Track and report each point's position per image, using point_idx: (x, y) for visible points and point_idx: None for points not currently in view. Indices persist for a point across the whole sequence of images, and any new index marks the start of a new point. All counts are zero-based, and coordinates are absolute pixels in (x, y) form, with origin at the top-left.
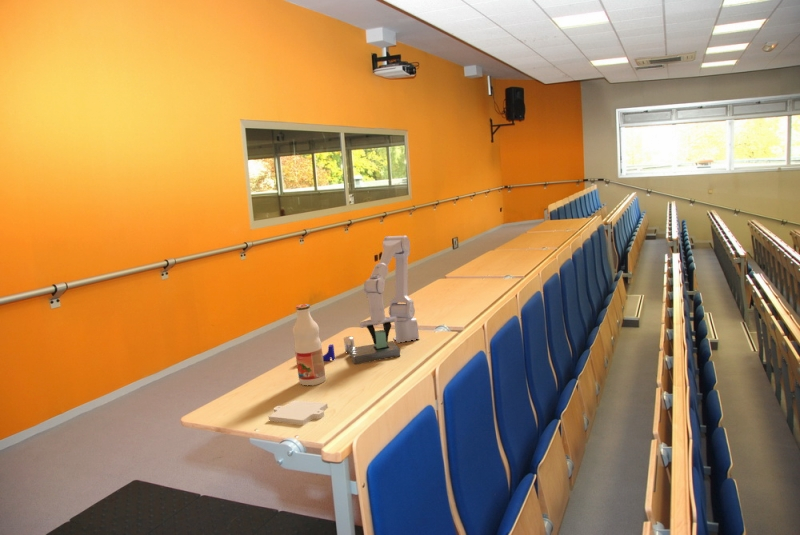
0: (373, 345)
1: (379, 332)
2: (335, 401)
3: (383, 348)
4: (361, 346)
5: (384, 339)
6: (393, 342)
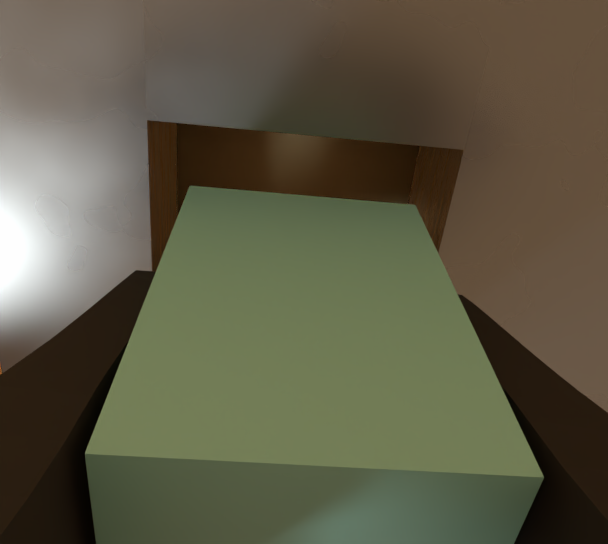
0: None
1: (329, 531)
2: None
3: None
4: None
5: (207, 279)
6: None
